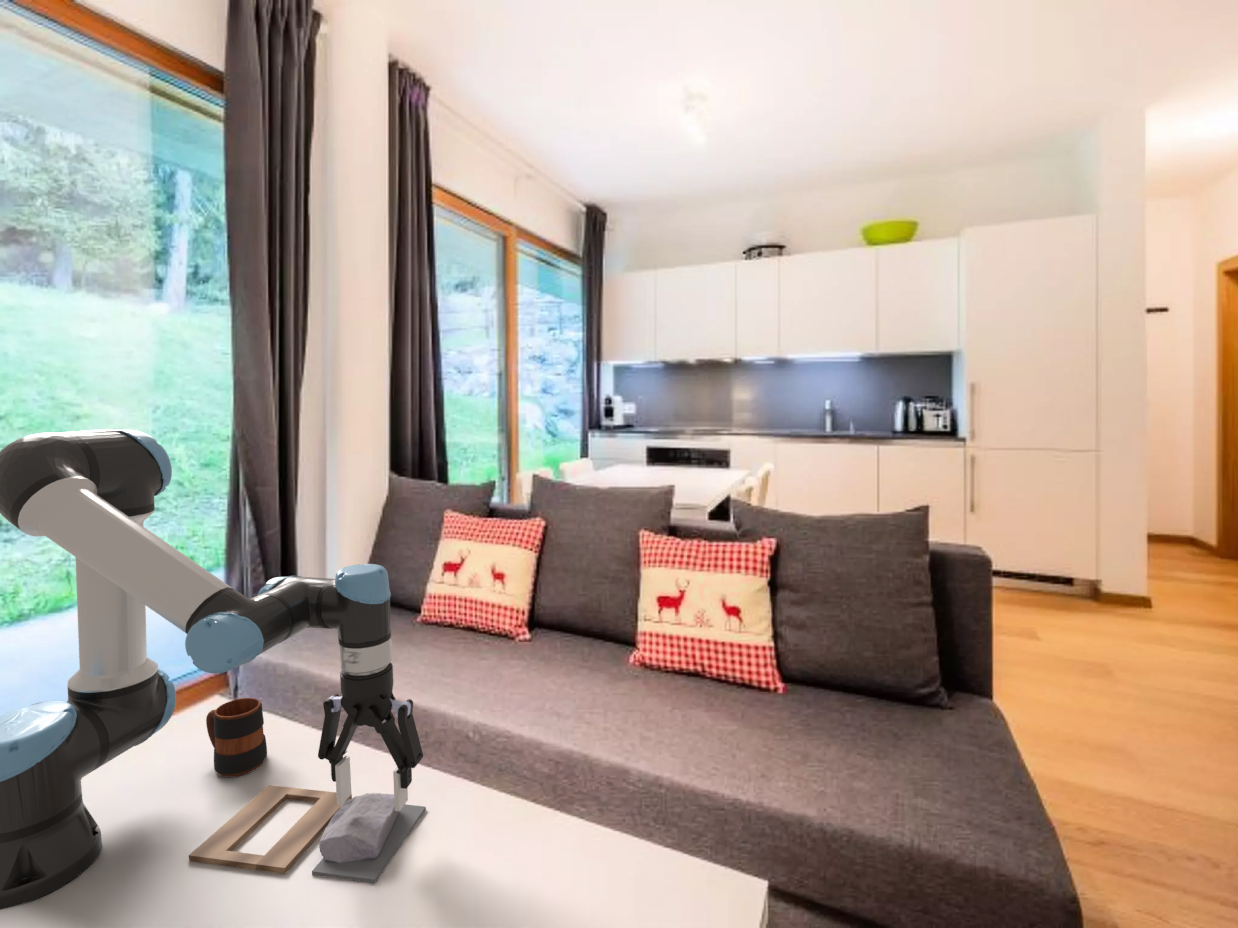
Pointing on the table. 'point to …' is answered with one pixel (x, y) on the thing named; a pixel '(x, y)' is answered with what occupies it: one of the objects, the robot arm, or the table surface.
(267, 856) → the pocket board
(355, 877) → the mat
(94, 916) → the table surface
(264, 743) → the mug
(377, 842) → the stone block
